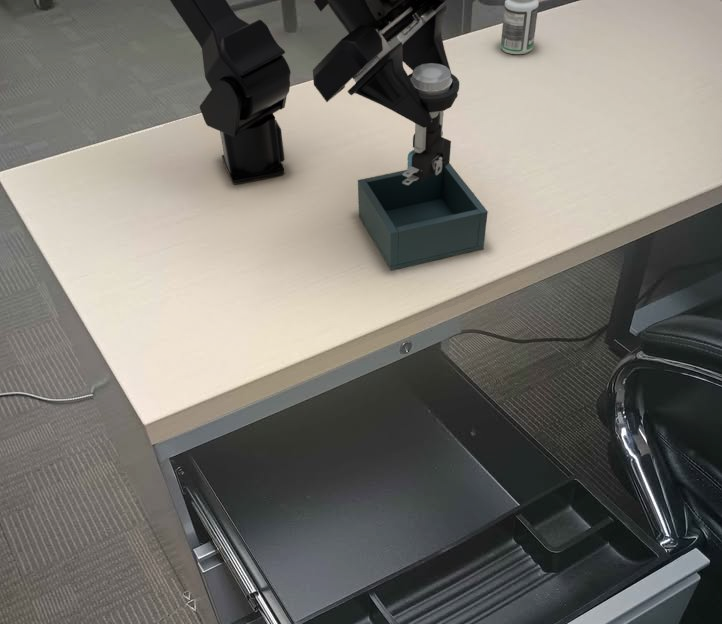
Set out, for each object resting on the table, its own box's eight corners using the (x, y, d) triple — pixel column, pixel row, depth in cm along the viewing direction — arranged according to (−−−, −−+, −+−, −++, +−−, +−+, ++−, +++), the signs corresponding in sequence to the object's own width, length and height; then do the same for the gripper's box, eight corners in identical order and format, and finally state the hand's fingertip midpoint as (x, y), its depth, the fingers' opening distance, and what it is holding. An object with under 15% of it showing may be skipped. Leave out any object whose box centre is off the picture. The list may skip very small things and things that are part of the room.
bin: (390, 270, 80) (390, 233, 76) (358, 216, 86) (357, 179, 83) (483, 249, 82) (488, 211, 78) (445, 197, 88) (448, 160, 85)
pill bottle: (525, 39, 114) (533, -26, 107) (537, 52, 111) (547, -13, 104) (495, 43, 113) (501, -21, 106) (507, 57, 110) (514, -9, 103)
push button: (425, 198, 77) (429, 100, 68) (383, 179, 79) (382, 82, 70) (462, 166, 79) (471, 69, 71) (421, 149, 81) (424, 52, 73)
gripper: (336, -73, 57) (458, 108, 62) (446, -139, 67) (543, 22, 72) (262, 22, 66) (374, 174, 71) (368, -49, 75) (460, 89, 81)
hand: (441, 112), depth 73 cm, fingers closed on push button, 5 cm apart
